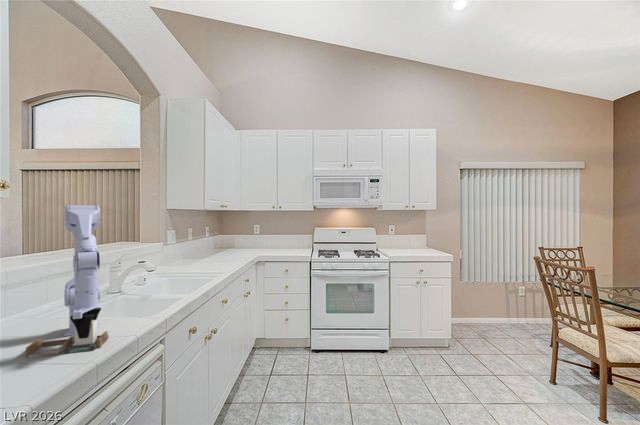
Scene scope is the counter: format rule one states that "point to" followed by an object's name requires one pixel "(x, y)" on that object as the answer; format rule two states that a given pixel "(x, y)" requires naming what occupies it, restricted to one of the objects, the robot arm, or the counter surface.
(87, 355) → the counter surface
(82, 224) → the robot arm
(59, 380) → the counter surface
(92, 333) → the plug
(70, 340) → the slot rack
